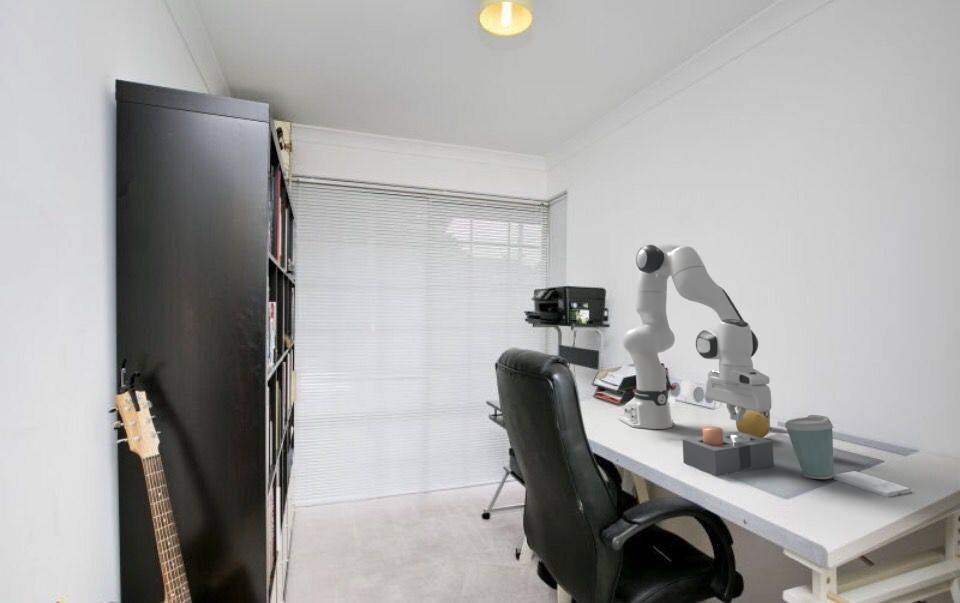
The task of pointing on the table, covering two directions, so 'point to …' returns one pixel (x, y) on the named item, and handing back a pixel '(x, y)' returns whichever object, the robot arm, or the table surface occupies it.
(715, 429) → the terracotta button
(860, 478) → the external hard drive
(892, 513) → the table surface
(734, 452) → the block
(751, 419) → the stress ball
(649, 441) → the table surface
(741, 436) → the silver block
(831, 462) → the disposable coffee cup
